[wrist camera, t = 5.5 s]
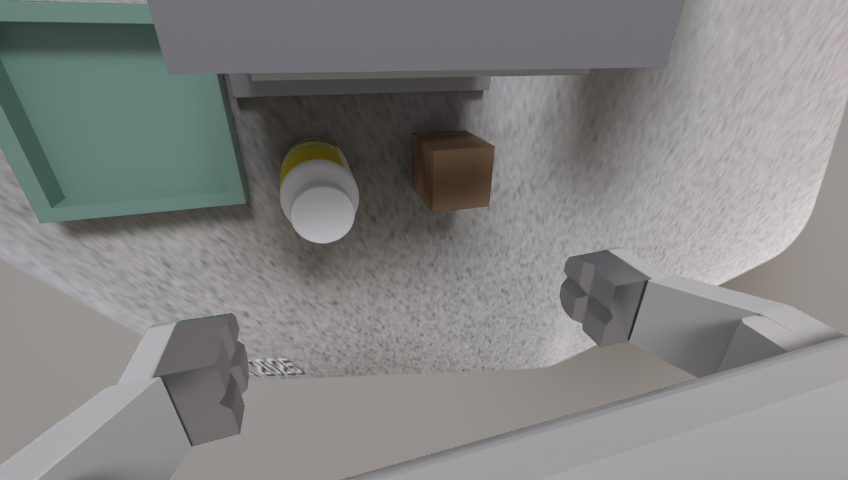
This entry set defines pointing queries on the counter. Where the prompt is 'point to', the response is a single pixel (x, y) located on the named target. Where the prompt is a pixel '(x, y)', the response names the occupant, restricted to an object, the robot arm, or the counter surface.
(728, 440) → the robot arm
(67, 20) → the tray
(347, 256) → the counter surface
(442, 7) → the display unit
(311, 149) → the supplement bottle
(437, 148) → the walnut block
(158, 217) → the counter surface
